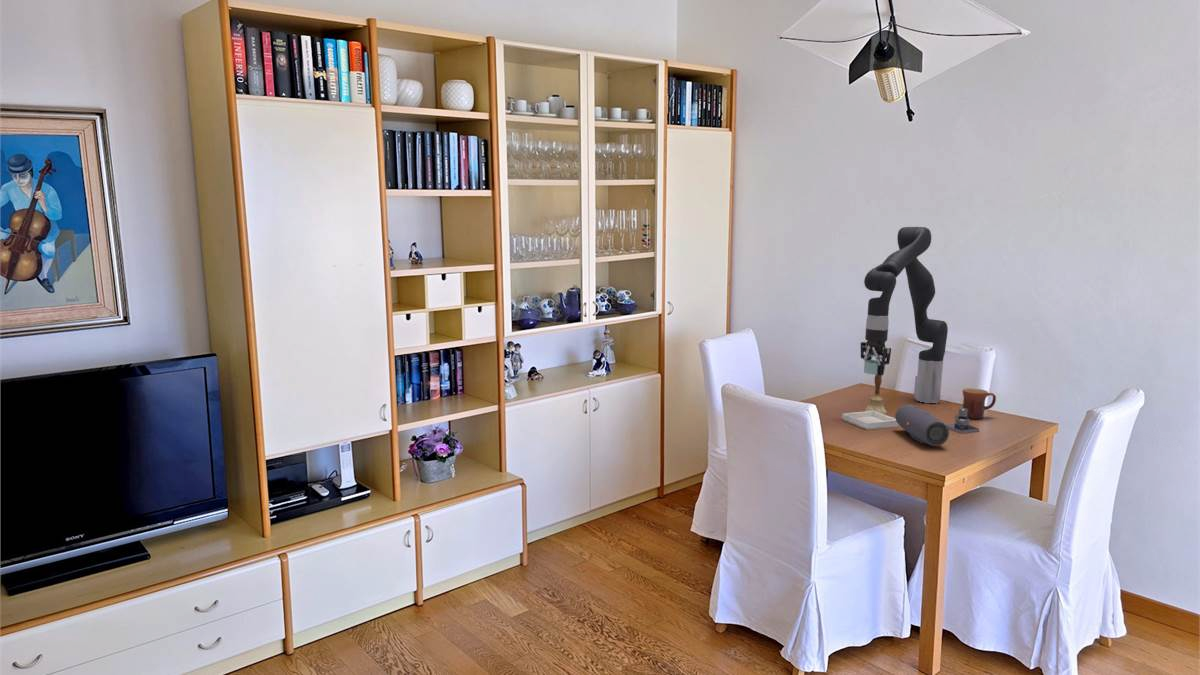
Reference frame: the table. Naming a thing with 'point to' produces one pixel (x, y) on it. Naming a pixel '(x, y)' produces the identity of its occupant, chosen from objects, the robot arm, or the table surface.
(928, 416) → the bluetooth speaker
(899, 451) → the table surface
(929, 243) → the robot arm
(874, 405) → the hand bell
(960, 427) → the stand
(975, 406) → the mug
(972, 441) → the table surface
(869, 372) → the ring
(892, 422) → the tray
